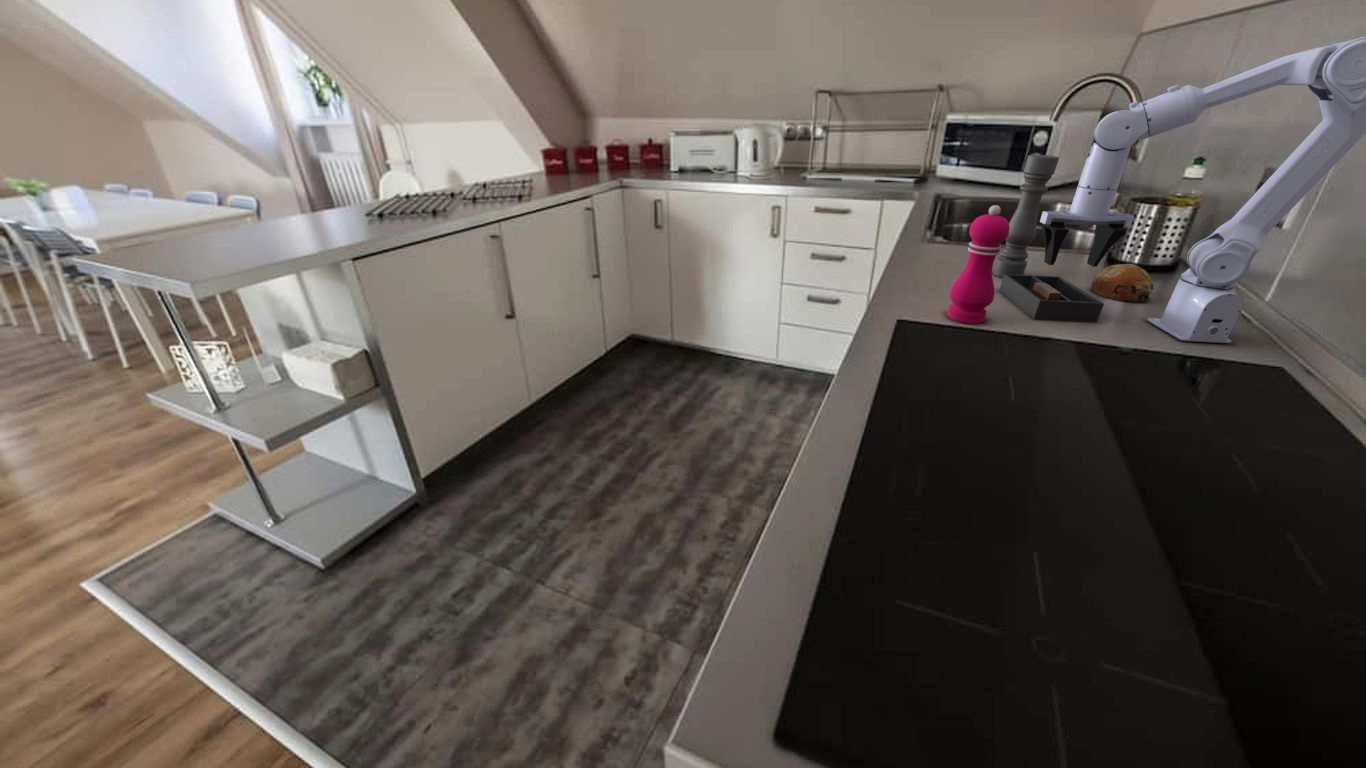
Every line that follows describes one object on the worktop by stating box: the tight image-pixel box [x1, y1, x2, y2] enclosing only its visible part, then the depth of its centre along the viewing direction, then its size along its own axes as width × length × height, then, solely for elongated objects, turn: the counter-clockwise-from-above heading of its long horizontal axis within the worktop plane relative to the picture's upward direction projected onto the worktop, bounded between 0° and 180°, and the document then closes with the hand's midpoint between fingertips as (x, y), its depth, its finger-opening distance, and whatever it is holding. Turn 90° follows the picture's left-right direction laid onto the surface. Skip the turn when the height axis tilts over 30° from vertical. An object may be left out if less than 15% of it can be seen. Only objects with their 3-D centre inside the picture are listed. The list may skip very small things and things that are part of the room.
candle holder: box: [992, 154, 1060, 279], centre depth 120 cm, size 6×6×25 cm
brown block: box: [1032, 283, 1061, 300], centre depth 107 cm, size 13×2×4 cm, turn 174°
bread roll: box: [1090, 263, 1154, 303], centre depth 114 cm, size 10×10×8 cm
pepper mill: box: [946, 204, 1010, 325], centre depth 97 cm, size 7×7×20 cm
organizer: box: [998, 274, 1105, 323], centre depth 108 cm, size 16×11×4 cm
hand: (1070, 264), depth 103 cm, fingers open, 7 cm apart
